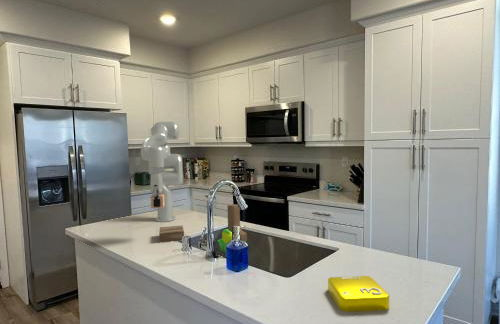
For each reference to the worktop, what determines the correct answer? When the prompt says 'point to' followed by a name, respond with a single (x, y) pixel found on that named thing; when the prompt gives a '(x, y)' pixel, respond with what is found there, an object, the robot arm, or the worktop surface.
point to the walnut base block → (171, 233)
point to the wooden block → (235, 220)
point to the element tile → (358, 294)
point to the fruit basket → (225, 239)
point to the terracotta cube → (162, 202)
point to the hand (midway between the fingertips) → (157, 205)
